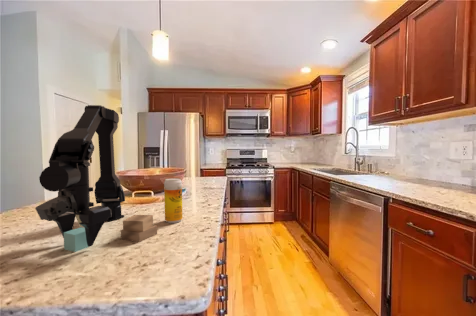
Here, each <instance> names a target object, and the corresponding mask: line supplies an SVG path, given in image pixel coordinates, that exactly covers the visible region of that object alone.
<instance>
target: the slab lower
mask: <svg viewBox="0 0 476 316" xmlns="http://www.w3.org/2000/svg"><path fill="white" fill-rule="evenodd" d="M156 235H158V225H156V224H153V225H152V226H151V227H149V228H148V229H146V230H145V231H143V232H137V231H123V228H122V229H121V230H120V240H126V241H130V242H135V243H141V242H143V241H145V240H148V239H150V238H153V236H156Z"/></svg>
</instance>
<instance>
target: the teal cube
mask: <svg viewBox="0 0 476 316" xmlns="http://www.w3.org/2000/svg"><path fill="white" fill-rule="evenodd" d="M87 248H89V247H88V245H87V240H86V233H85V228H84V227H78V228H75V229H74V228H73V230H70V231H67V232H64V238H63V249H64V251H65V250H66V251H69V252H74V253H78V252H79V251H82V250H85V249H87Z"/></svg>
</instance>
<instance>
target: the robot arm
mask: <svg viewBox="0 0 476 316" xmlns="http://www.w3.org/2000/svg"><path fill="white" fill-rule="evenodd" d="M119 122H120V117H119V113H118V112H117V111H116V110H114V109H110V108H107V107H105V106H104V105H99V104H98V105H96V104H95V105H94V104H88V105H85V107H84V111H83V113H82V115H81V116H80V118H79V120H78V121H77V123H76V124H75V126H74V127H73V129H72V130H69V131H66V132H64V133H63V134H62V135H61V136H60V137H58V139H57V141H56V143H55V144H54V146H53V149H52V152H51V155H50V156H49V160H48V165H49V166H47V167H46V168H44V169H43V170H42V172H41V173H40V175H39V177H38V179H39V184H40V185H41V186H42V188H43V189H45V190H47V191H49V192H55V193H56V192H57V196H56V197H54V198H51V199H49V200H47V201H45V202H43V203H41V204H39V205H37V206H36V207H35V211H36V213H37V214H38V216H39V218H40V220H44V221H45V220H46V221H47V222H51V221H53V222H54V223H56V224H57V227H58V228H59V232H60V234H61V236H62V238H63V239H64V232H67V231H70V230H74V225H75V220H76V215H79V219H80V220H81V223H79V224H80V225H82V226H83V227H82V228H85V233H86V240H87V245H88V247H87V248H89V247H92V246H93V245H94V243H95V241H96V239H97V237H98V234H99V233H100V231H101V229H102V227H103V225H104V224H105V222H111V221H115V220H118V219H121V218H124V217H125V215H124V214H122V202H125V201H126V193H125V191H124V189H123V187H122V184H121V180H120V178H119V177H118V176H117V174H116V168H115V166H116V165H115V164H116V163H115V147H114V145H115V144H114V135H115V133H116V131H117V129H118V126H119V125H118V124H119ZM95 133H96V134H97V137H98V155H99V174H100V175H99V178H98V180H97V181H96V182H95V183H94V187H95V188H94V187H92V186H91V187H90V170H89V169H90V166H91V162H90V160H91V158H92V155H93V153H94V152H95V145H94V142H93V138H94V135H95ZM93 191H94V197H95V202H96V204H101V205H97V206H95V205H94V202H92V201H90V192H93ZM80 211H81V212H80ZM79 224H78V225H79Z"/></svg>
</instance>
